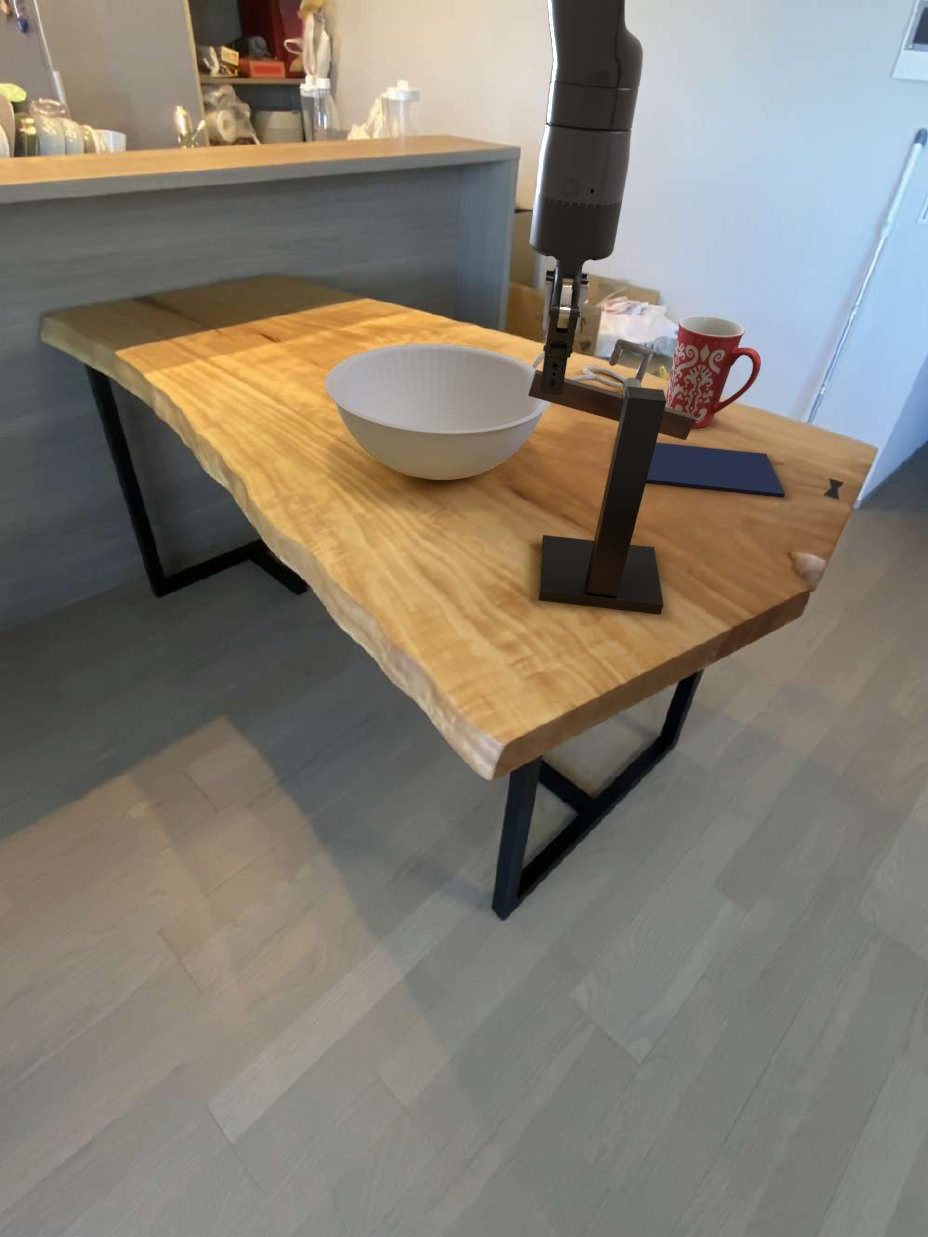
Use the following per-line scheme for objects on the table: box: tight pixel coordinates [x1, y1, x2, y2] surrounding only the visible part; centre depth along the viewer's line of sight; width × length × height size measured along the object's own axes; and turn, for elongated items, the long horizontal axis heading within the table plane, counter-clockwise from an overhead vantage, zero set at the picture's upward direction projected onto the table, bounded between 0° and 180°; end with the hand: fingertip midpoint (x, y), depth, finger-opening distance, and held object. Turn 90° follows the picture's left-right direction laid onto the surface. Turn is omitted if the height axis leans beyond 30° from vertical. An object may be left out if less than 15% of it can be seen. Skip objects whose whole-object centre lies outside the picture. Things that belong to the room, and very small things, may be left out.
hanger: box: [528, 338, 696, 441], centre depth 69 cm, size 17×1×8 cm, turn 84°
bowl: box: [324, 343, 552, 481], centre depth 86 cm, size 27×27×10 cm
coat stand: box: [538, 377, 666, 615], centre depth 65 cm, size 12×10×21 cm
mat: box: [646, 442, 786, 498], centre depth 91 cm, size 20×11×1 cm, turn 83°
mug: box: [665, 315, 762, 429], centre depth 98 cm, size 13×9×14 cm
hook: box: [531, 351, 629, 390], centre depth 108 cm, size 7×9×20 cm
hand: (551, 388), depth 70 cm, fingers closed on hanger, 1 cm apart
